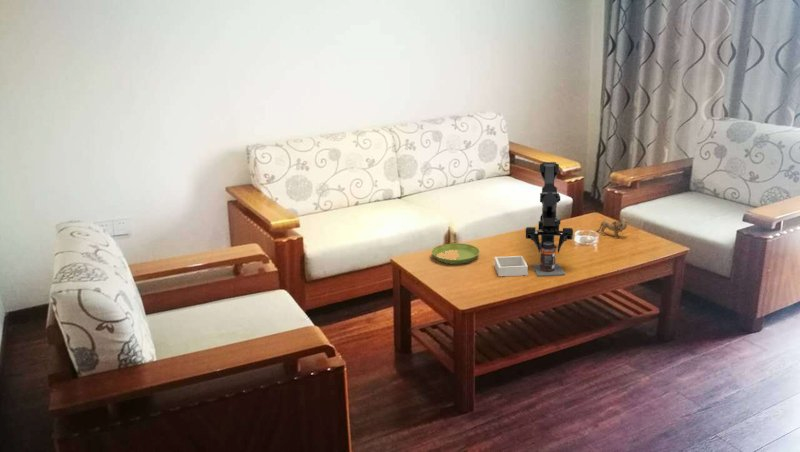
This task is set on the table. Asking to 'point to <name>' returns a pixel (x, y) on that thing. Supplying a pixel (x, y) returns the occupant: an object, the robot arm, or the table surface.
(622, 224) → the lion figurine
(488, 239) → the table surface
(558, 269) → the rubber mat
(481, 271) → the table surface
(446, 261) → the saucer
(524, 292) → the table surface
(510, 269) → the white hollow square frame
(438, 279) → the table surface
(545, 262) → the supplement bottle
